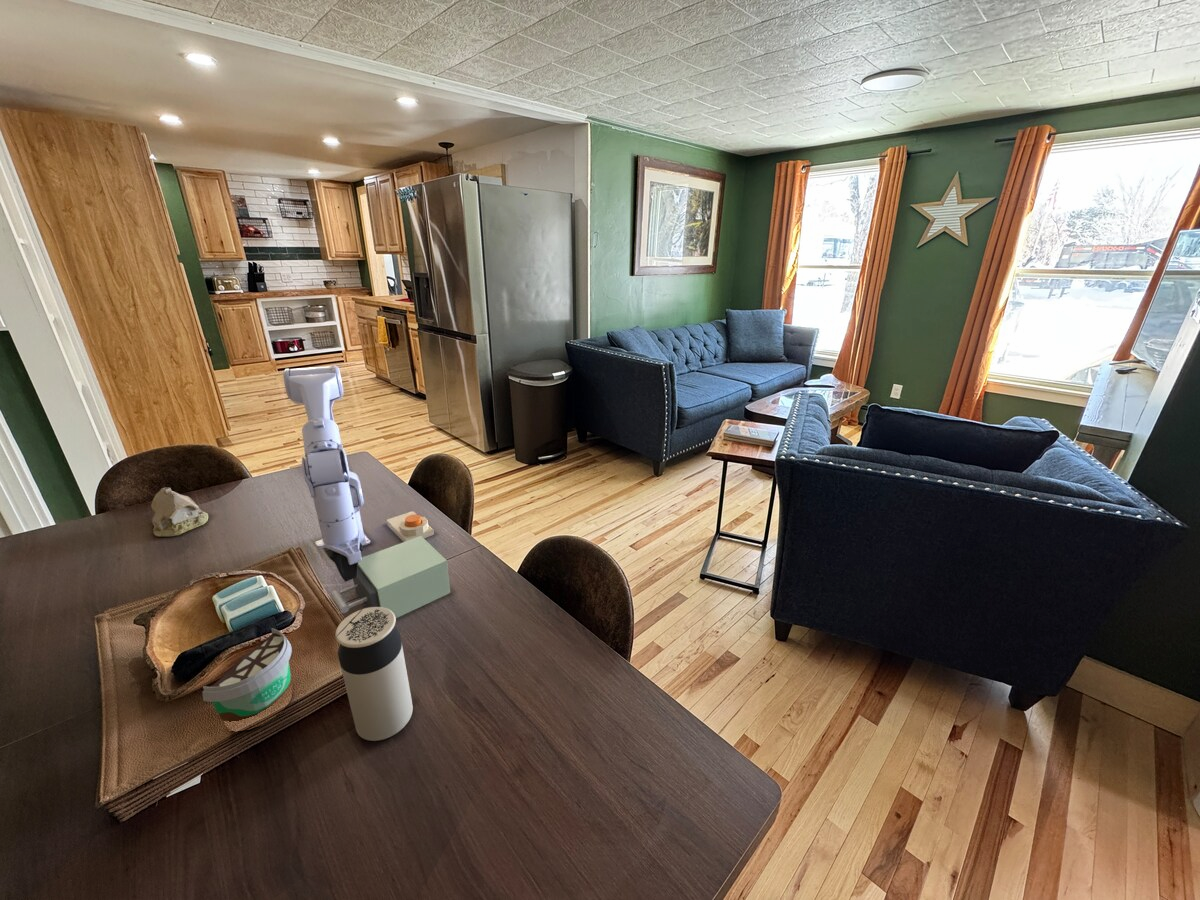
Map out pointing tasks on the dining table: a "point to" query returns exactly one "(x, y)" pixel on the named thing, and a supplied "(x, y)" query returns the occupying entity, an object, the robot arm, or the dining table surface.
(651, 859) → the dining table surface
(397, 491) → the dining table surface
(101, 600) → the dining table surface
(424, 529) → the control block
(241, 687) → the food container
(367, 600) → the compartment
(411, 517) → the button
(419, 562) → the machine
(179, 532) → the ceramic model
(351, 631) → the travel mug
